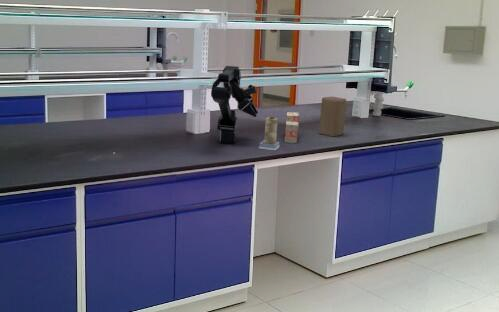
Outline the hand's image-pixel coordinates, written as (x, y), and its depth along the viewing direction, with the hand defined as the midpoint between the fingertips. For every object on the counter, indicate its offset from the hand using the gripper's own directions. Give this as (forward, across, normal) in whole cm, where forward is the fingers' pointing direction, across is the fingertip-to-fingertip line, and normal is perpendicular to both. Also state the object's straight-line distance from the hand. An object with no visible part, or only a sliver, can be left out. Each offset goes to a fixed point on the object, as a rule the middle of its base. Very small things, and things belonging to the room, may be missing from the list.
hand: (256, 114), depth 273 cm
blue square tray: (+15, -10, +4) cm, 19 cm away
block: (+38, +34, -18) cm, 53 cm away
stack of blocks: (+22, +16, -3) cm, 27 cm away
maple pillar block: (+14, -10, +3) cm, 18 cm away
